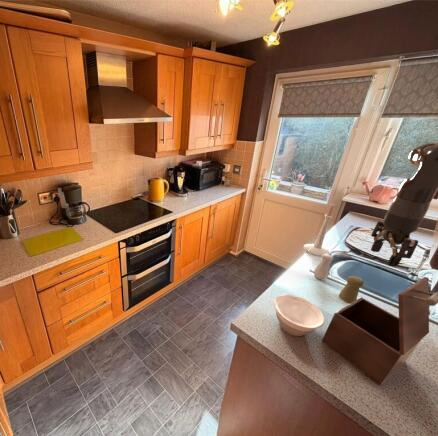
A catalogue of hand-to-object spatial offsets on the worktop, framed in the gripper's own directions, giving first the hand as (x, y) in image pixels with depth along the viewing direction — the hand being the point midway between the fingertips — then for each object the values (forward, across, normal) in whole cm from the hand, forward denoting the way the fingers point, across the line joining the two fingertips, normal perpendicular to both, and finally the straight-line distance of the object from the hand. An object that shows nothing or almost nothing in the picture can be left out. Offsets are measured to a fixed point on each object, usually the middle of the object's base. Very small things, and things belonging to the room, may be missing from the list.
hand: (382, 258), depth 76 cm
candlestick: (+31, +57, -9) cm, 66 cm away
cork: (+31, +16, -7) cm, 36 cm away
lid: (+9, -15, -2) cm, 18 cm away
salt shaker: (+31, +30, -1) cm, 43 cm away
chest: (+31, -11, +1) cm, 33 cm away
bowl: (+31, -6, +21) cm, 38 cm away
